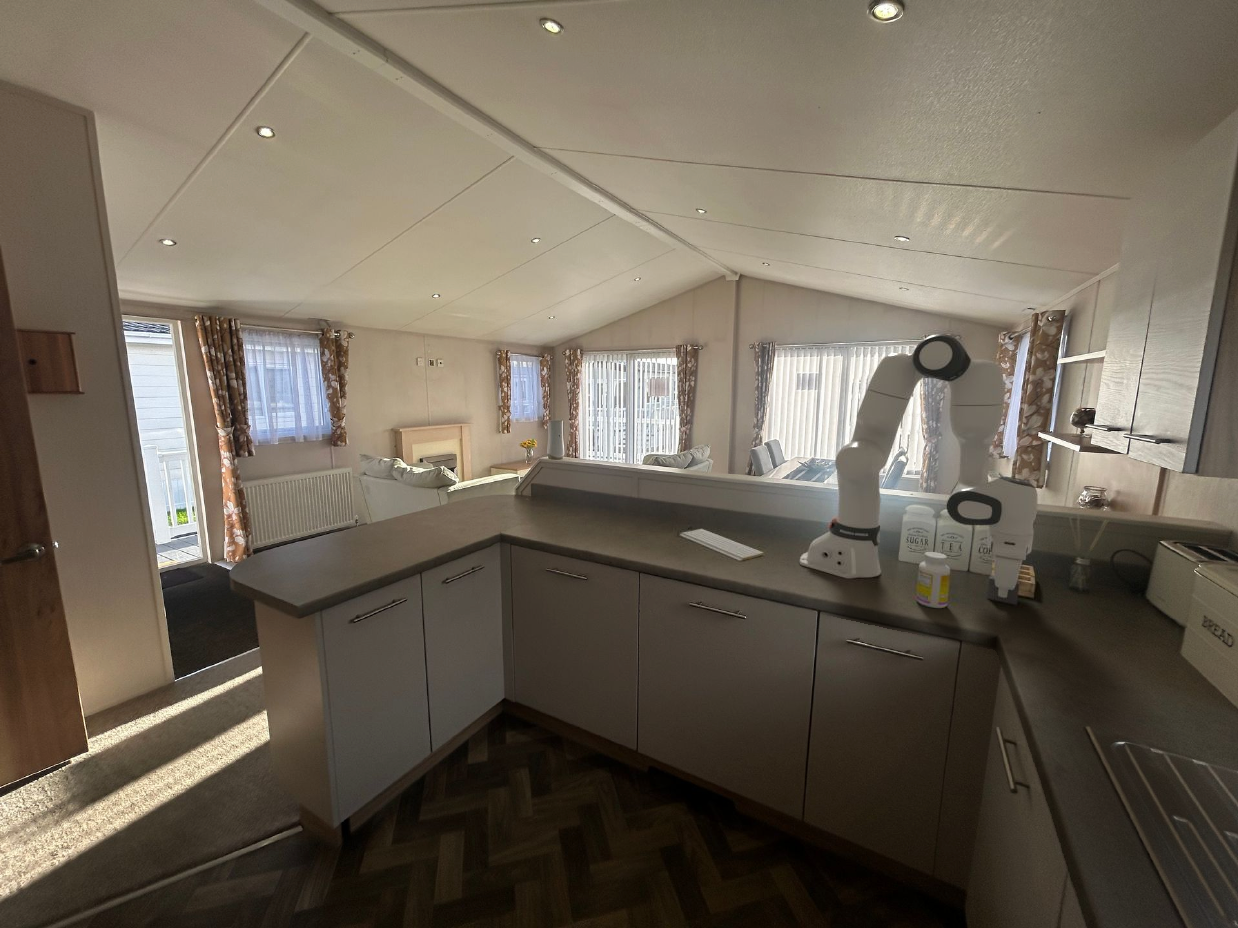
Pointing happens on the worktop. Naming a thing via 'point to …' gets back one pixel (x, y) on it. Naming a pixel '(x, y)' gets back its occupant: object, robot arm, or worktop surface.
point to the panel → (1010, 598)
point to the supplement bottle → (933, 581)
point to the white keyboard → (721, 544)
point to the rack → (1024, 580)
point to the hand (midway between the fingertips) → (1002, 593)
